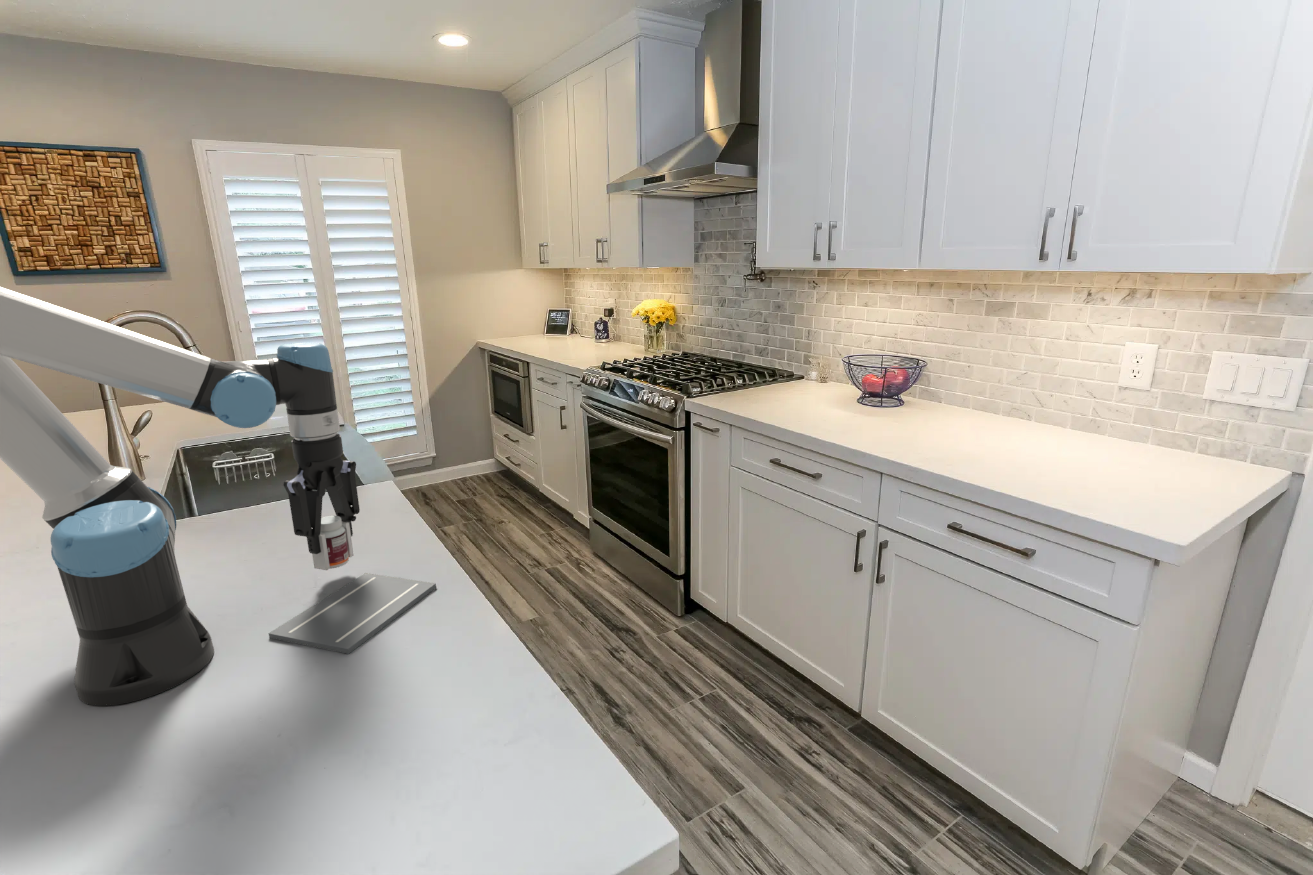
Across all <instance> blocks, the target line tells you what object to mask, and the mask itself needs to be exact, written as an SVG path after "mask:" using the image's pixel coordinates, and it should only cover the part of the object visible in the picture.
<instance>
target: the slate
mask: <svg viewBox="0 0 1313 875" xmlns="http://www.w3.org/2000/svg"><path fill="white" fill-rule="evenodd" d="M436 588H437V584H436V582H430V581H422V580H415V579H408V578H401V577H396V576H390V575H384V574H376V573H375V574H374V573H371V572H365V573H362V574H361V575H360V576H358V577H357V578H355V579H354V580H351V581H350V582H349V583H346V584H345V585H344V586H342V587H340V588H339V589H337V590H336V591H334V592H333V593H331V594H329V595H328V596H326V597H324V598H323V599H322V600H321V599H320V600H319V601H318V602H317V603H315V604H313V605H312V606H309V607H308V608H307V609H305V610H303V611H302V612H301V613H298V614H297V615H295V616H294V617H293V618H290V620H287V621H286V622H284V623H283V624H281V625H279V626H278V627H276V628H275V629H273V630H271V631H270V632H269V633H268V638H269V639H272V640H278V641H283V642H289V643H293V644H298V645H303V646H307V647H312V648H316V649H317V648H318V649H323V650H326V651H331V652H338V653H342V654H347V655H348V654H350V653H352V652H353V651H355V650H356V649H357V648H358V647H360V646H361V645H363V644H364V643H365V642H366V641H368V640H370V638H372V637H374V635H376V634H377V633H379V631H381V630H383V629H384V628H385V627H386V626H388V625H389V624H391V623H392V622H393V621H394V620H395V619H397V618H399V616H401V615H402V614H403V613H405V612H406V611H407V610H408V609H410V608H412V607H413V606H414V605H416V603H419V601H421V600H422V599H423V598H425V597H426V596H427V595H429V594H430V593H431V592H433V591H434V590H435V589H436Z"/></svg>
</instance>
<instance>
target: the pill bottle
mask: <svg viewBox="0 0 1313 875" xmlns="http://www.w3.org/2000/svg"><path fill="white" fill-rule="evenodd" d="M320 533H322V534H325V538H326V544H327V551H328V558H329V565H330V569H337V568H340V567H342V566H345V565H346V564H348V562H349V561H350V560H349V558H350V557H349V556H348V549H347V540H346V533H345V529H344V527H342V521H341V517H339V516H336V515H326V516H323V517H322V516H321V532H320ZM330 569H329V570H330Z"/></svg>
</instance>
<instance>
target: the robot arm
mask: <svg viewBox="0 0 1313 875" xmlns="http://www.w3.org/2000/svg"><path fill="white" fill-rule="evenodd" d="M276 350H277V354H276V356H275V357H272V358H265V359H248V360H247V359H246V360H232V361H230V360H229V361H221V360H217V359H214V358H212V357H208V356H205V355H203V354H199V353H196V352H193V351H191V350H188V349H185V348H182V347H179V346H176V345H174V344H170V343H167V342H164V341H162V340H158V339H155V338H152V337H149V336H146V335H144V334H140V333H138V332H135V331H132V330H129V329H127V328H123V327H120V326H117V325H114V324H111V323H108V322H106V321H104V320H103V321H101V320H99V319H97V318H94V317H91V316H88V315H84V314H82V313H79V312H75V311H73V310H70V309H67V308H64V307H61V306H58V305H55V304H52V303H49V302H46V301H43V300H41V299H38V298H35V297H32V296H29V295H26V294H22V293H20V292H17V291H14V290H11V289H8V288H5V287H2V286H0V460H1V461H2V462H3V463H4V465H6V466H7V467H8V468H9V469H10V470H12V471H13V473H14V474H16V476H18V477H19V478H20V479H21V480H22V481H23V483H25V485H27V486H28V487H29V489H31V490H32V491H33V492H34V494H36V495H37V496H38V497H39V498H40V499H41V500H42V501H43V502H44V509H43V511H42V516H41V518H42V519H43V520H44V521H45V522H46V524H48V526H50V527H51V528H52V529H53V530H52V531H51V534H50V544H51V550H50V552H51V559H52V560H53V561H54V564H55V566H56V567H57V571H58V574H59V577H60V579H61V580H60V581H61V583H62V586H63V589H64V592H65V596H66V599H67V602H68V605H69V608H70V611H71V616H72V618H73V621H74V625H75V627H76V631H77V634H78V637H79V638H78V639H79V644H78V651H77V658H76V666H75V673H74V680H73V681H74V686H75V690H76V693H77V696H78V699H79V700H80V701H81V702H82V703H84V704H87V705H90V706H99V707H107V706H118V705H124V704H129V703H133V702H137V701H141V700H143V699H147V698H150V697H153V696H155V695H158V694H160V693H163V692H165V691H168V690H170V689H172V688H175V687H176V686H178V685H180V684H183V683H184V682H186V681H187V680H188V679H189V680H190V678H192V677H193V676H195V675H196V674H198V673H199V672H200V671H202V670H203V669H204V668H205V667H206V666H207V665H208V664H209V663H210V661H211V660H212V658H213V657H214V654H215V648H214V647H215V646H214V644H213V641H212V640H213V639H212V637H211V634H210V633H209V631H208V630H207V628H205V626H204V625H203V624H202V622H201V621H200V620H199V618H198V617H197V616H196V615H195V614H194V612H193V611H192V610H191V608H190V607H189V606H188V603H187V600H186V599H187V598H186V596H185V592H184V587H183V584H182V580H181V576H180V572H179V568H178V564H177V558H176V554H175V553H176V552H175V543H176V542H175V541H176V531H177V516H176V513H175V510H174V508H173V506H172V504H171V503H170V501H169V500H168V499H167V498H166V496H164V495H163V494H161V493H160V492H159V491H158V490H155V489H154V488H152V487H150V486H148V485H146V484H145V482H143V481H142V480H141V478H140V477H139V476H138V475H137V474H136V473H135V472H134V471H133V469H132V468H130V467H124V466H115V465H112V464H111V463H109V462H108V460H106V458H104V456H103V455H102V454H101V453H100V452H99V451H98V450H97V449H96V448H95V447H94V445H93V444H91V442H90V441H89V440H88V439H87V438H86V437H85V436H84V435H83V434H82V433H81V432H80V431H79V430H78V428H77V427H75V425H74V424H73V423H72V422H71V421H70V420H69V419H68V418H67V417H66V416H65V414H63V413H62V411H61V410H60V409H59V408H58V407H57V406H56V405H55V404H54V403H53V402H52V401H51V400H50V399H49V397H48V396H47V395H46V394H45V393H44V392H43V391H42V389H40V388H39V387H38V385H36V384H35V382H33V380H32V379H31V377H29V376H28V375H27V374H26V373H25V371H23V370H22V368H20V366H19V365H17V363H16V362H15V361H14V360H18V361H20V362H24V363H28V364H31V365H35V366H38V367H42V368H45V369H48V370H51V371H52V370H53V371H56V372H60V373H63V374H66V375H70V376H73V377H77V378H81V379H84V380H87V381H91V382H93V383H99V384H101V385H105V386H109V387H111V388H115V389H119V390H122V391H126V392H129V393H133V394H137V395H139V396H143V397H145V398H146V397H147V398H151V399H153V400H158V401H161V402H164V403H168V404H171V405H175V406H177V407H178V406H179V407H182V408H186V409H189V410H192V411H195V412H197V413H201V414H204V415H207V416H210V417H214V418H217V419H218V420H220V421H222V422H223V423H224V424H226V425H229V426H231V427H234V428H238V429H251V428H255V427H259V426H260V425H262V424H264V423H266V422H267V421H268V420H269V419H270V418H272V416H273V414H274V412H276V411H275V410H276V407H277V406H279V405H285V407H286V415H287V416H286V417H287V422H288V428H289V435H290V436H291V438H292V440H291V442H290V443H291V448H292V455H293V459H294V460H295V461H296V463H297V472H296V475H295V477H294V478H292V479H290V480H289V479H288V480H287V479H286V480H285V481H284V482H283V487H284V489H285V491H286V493H287V495H288V500H289V507H290V513H291V514H290V515H291V520H292V527H293V532H294V535H295V536H299V537H306V540H307V541H306V542H307V547H308V552H309V553H310V554H311V555H312V561H313V562H312V563H313V566H314V567H313V568H314V569H316V570H320V571H321V570H323V571H328V570H330V565H329V558H328V551H327V544H326V538H325V534H322V533H320V532H321V518H322V516H323V515H322V511H323V498H324V496H325V495H326V492H327V494H328V496H329V499H330V502H331V505H332V507H333V510H334V513H335V516H339V517H341V521H342V527H344V529H345V533H346V540H347V549H348V556H349V558H352V557H354V554H355V553H354V548H353V541H352V537H353V534H354V532H353V525H352V522H355V521H356V519H357V516H356V515H358V514H359V513H360V511H361V509H360V502H359V495H358V488H357V487H358V486H357V480H356V467H357V462H356V461H353V460H352V461H351V460H344V459H343V458H342V456H343V453H344V450H343V449H344V448H343V440H342V436H341V434H340V433H339V432H340V430H341V426H340V420H339V419H340V418H339V413H338V412H339V411H338V405H337V397H336V389H335V380H334V370H333V368H332V367H333V366H332V362H331V357H330V353H329V348H328V347H327V346H326V345H325V344H322V343H318V342H297V343H286V344H285V343H284V344H281V345H279V346H278V347H277V348H276Z"/></svg>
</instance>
